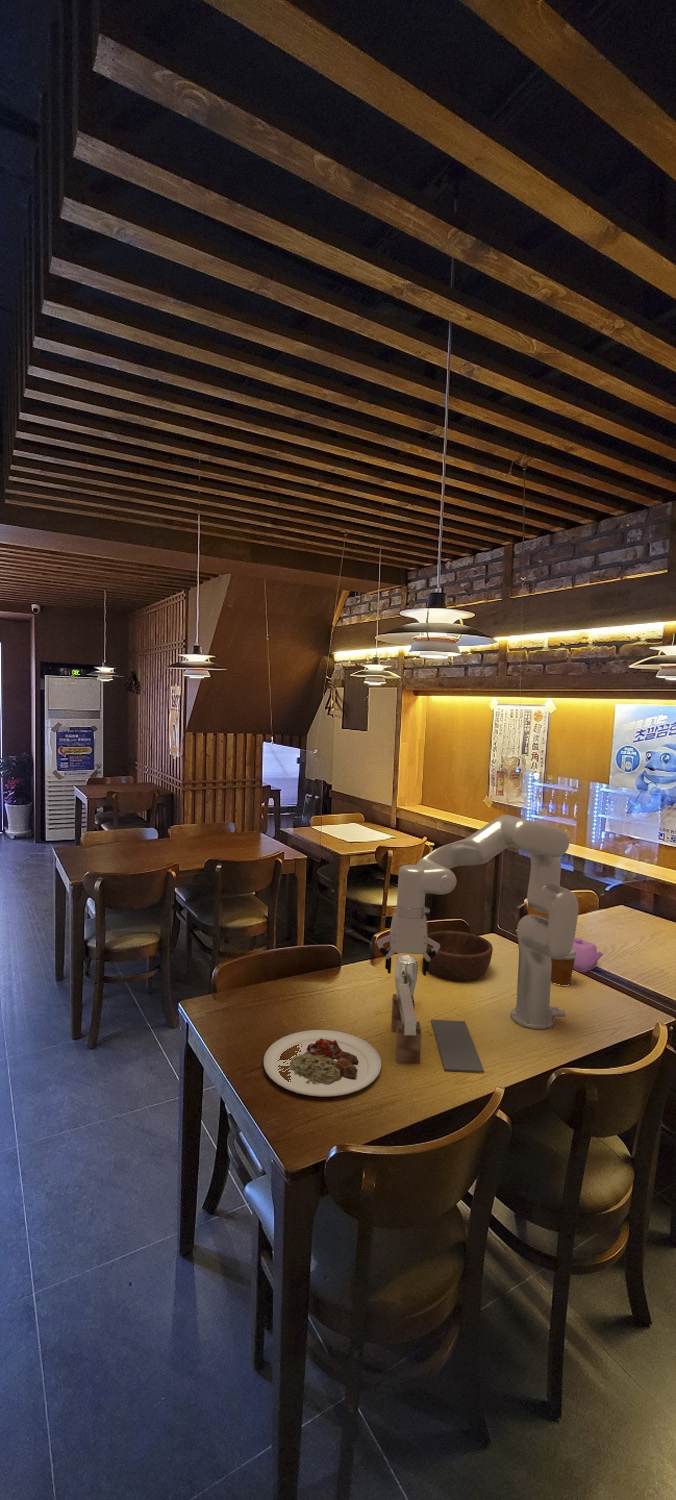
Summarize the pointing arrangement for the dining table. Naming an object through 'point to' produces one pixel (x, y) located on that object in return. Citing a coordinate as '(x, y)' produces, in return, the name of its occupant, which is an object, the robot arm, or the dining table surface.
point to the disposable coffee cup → (563, 969)
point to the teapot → (585, 955)
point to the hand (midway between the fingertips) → (406, 972)
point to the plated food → (324, 1063)
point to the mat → (456, 1046)
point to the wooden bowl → (459, 955)
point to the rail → (406, 1009)
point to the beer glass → (406, 972)
